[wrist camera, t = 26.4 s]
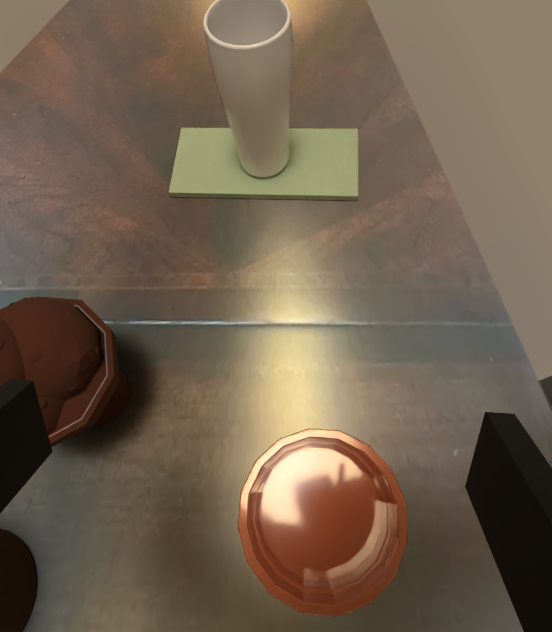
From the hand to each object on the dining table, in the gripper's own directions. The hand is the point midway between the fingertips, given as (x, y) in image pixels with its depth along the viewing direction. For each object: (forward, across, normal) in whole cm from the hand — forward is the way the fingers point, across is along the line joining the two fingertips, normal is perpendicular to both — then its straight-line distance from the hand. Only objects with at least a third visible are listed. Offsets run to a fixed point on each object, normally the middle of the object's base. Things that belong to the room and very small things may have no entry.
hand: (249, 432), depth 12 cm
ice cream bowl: (+20, +17, +14) cm, 30 cm away
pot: (+14, -3, +19) cm, 24 cm away
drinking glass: (+38, +4, -5) cm, 38 cm away
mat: (+38, +4, -5) cm, 39 cm away
